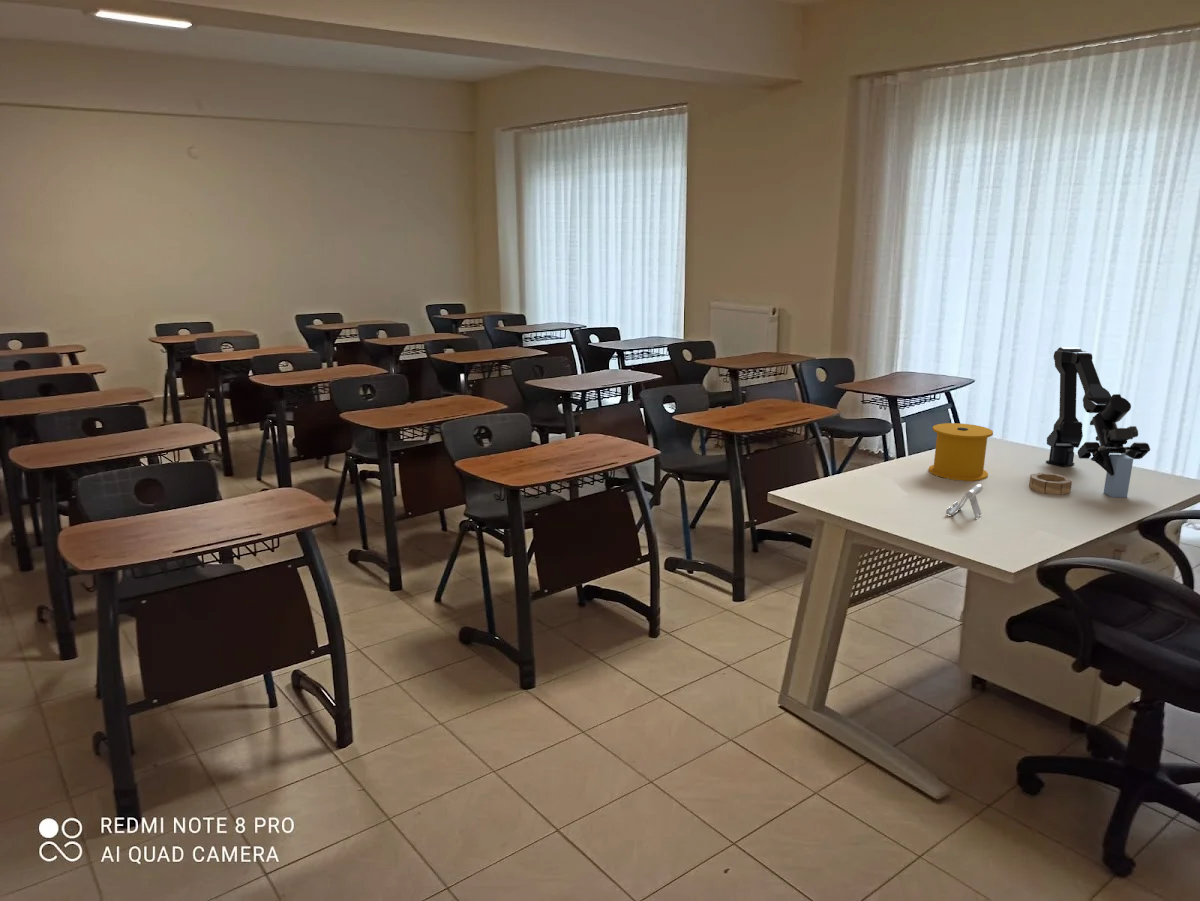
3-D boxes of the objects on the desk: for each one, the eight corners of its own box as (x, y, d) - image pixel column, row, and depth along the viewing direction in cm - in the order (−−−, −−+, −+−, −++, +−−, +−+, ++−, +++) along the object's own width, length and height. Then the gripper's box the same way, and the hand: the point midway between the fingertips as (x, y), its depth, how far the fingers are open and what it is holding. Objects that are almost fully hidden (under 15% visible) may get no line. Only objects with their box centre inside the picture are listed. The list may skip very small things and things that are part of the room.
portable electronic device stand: (955, 508, 242) (958, 480, 240) (984, 514, 237) (987, 485, 235) (945, 516, 236) (948, 487, 234) (974, 522, 231) (978, 492, 229)
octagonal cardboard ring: (1022, 486, 262) (1023, 475, 261) (1045, 481, 267) (1046, 471, 266) (1054, 496, 253) (1055, 484, 252) (1077, 491, 257) (1078, 480, 256)
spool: (997, 481, 267) (1003, 435, 264) (940, 481, 268) (945, 435, 264) (974, 465, 285) (979, 422, 281) (920, 465, 285) (924, 422, 281)
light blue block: (1103, 492, 256) (1109, 454, 253) (1118, 492, 256) (1124, 454, 253) (1111, 497, 252) (1117, 458, 248) (1126, 497, 251) (1133, 458, 248)
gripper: (1088, 416, 252) (1102, 461, 244) (1152, 416, 251) (1168, 462, 243) (1071, 435, 261) (1084, 479, 254) (1133, 435, 261) (1147, 480, 253)
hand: (1121, 475), depth 251 cm, fingers closed on light blue block, 4 cm apart
